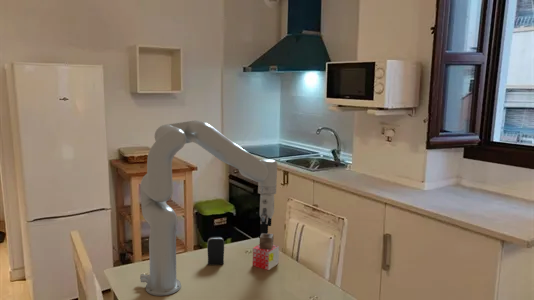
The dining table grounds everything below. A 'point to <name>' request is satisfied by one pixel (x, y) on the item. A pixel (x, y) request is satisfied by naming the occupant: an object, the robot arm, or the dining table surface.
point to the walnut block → (266, 241)
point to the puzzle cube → (265, 257)
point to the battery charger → (215, 250)
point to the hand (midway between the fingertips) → (265, 229)
